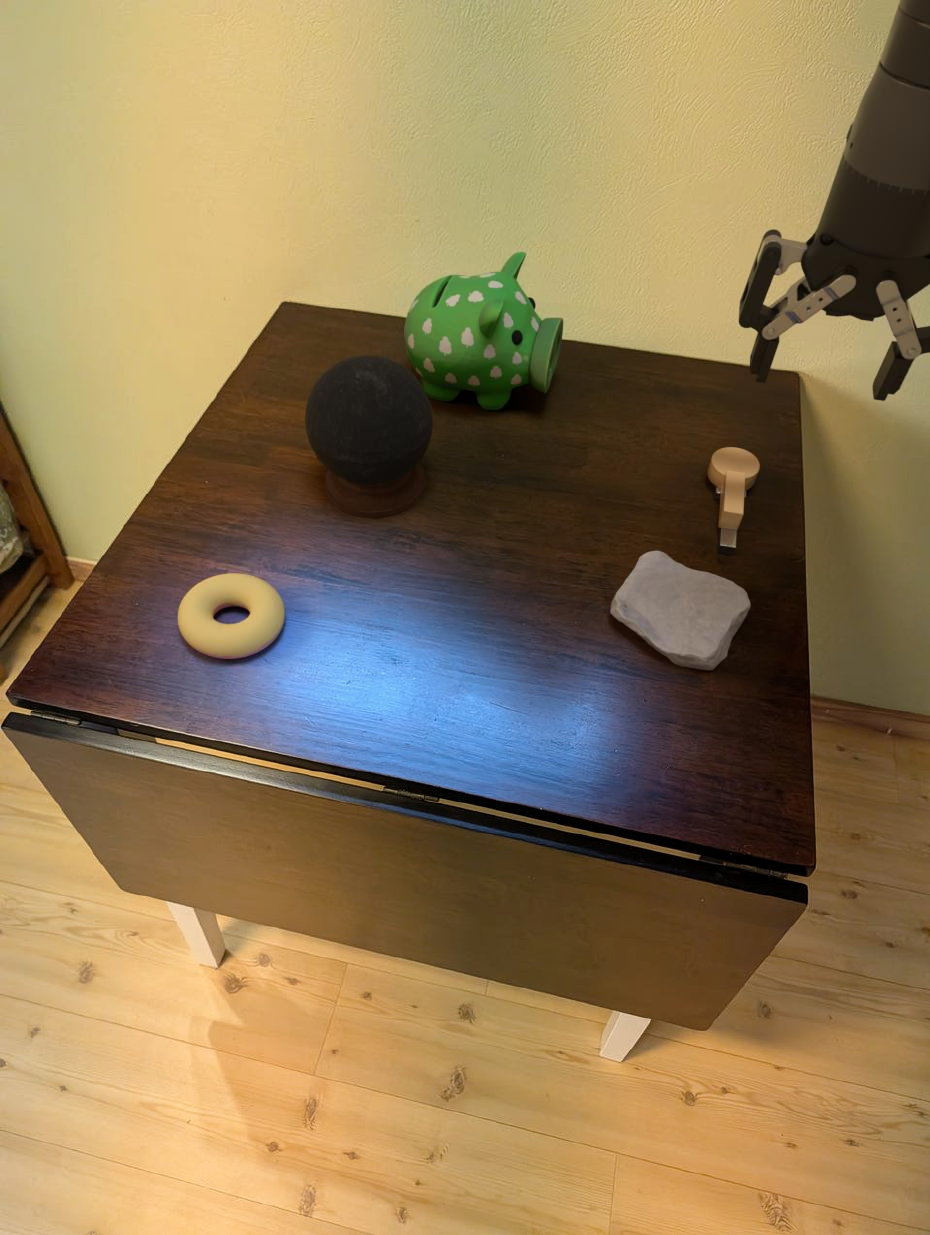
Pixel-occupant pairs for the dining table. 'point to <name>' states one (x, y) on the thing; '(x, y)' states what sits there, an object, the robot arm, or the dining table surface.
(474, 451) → the dining table surface
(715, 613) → the stone block
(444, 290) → the piggy bank
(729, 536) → the fork
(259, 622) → the donut
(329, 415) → the black ball on stand
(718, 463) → the wooden round paddle
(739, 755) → the dining table surface
